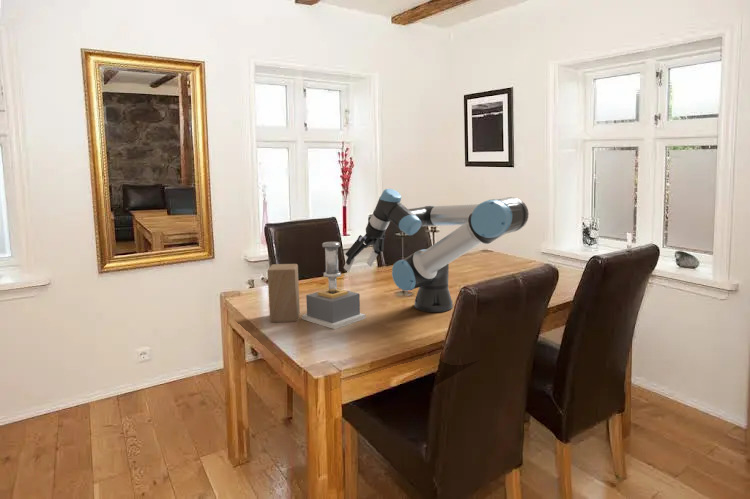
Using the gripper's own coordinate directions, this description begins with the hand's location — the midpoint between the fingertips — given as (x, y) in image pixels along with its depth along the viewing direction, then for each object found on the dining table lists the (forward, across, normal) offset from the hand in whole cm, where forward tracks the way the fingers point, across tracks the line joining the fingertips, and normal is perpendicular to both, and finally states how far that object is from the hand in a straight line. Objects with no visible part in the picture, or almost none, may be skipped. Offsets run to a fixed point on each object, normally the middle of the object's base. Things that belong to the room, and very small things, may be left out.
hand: (357, 267), depth 218 cm
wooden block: (+17, +33, +2) cm, 37 cm away
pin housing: (+9, +22, +15) cm, 28 cm away
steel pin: (+2, +22, +10) cm, 24 cm away
